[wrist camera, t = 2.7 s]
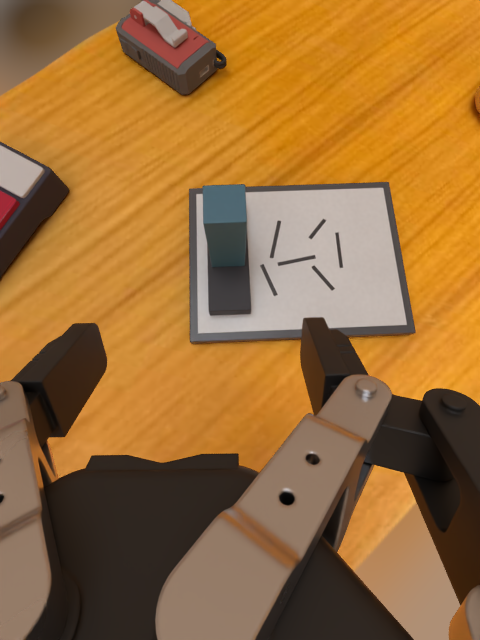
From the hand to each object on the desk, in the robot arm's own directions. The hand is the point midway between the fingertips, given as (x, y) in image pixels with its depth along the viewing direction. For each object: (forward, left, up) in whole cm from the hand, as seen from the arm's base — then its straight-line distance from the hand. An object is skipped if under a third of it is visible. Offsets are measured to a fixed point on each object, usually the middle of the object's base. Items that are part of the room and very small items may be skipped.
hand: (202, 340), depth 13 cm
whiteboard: (+12, -8, -19) cm, 24 cm away
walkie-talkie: (+43, +7, -19) cm, 47 cm away
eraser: (+12, -1, -18) cm, 21 cm away
